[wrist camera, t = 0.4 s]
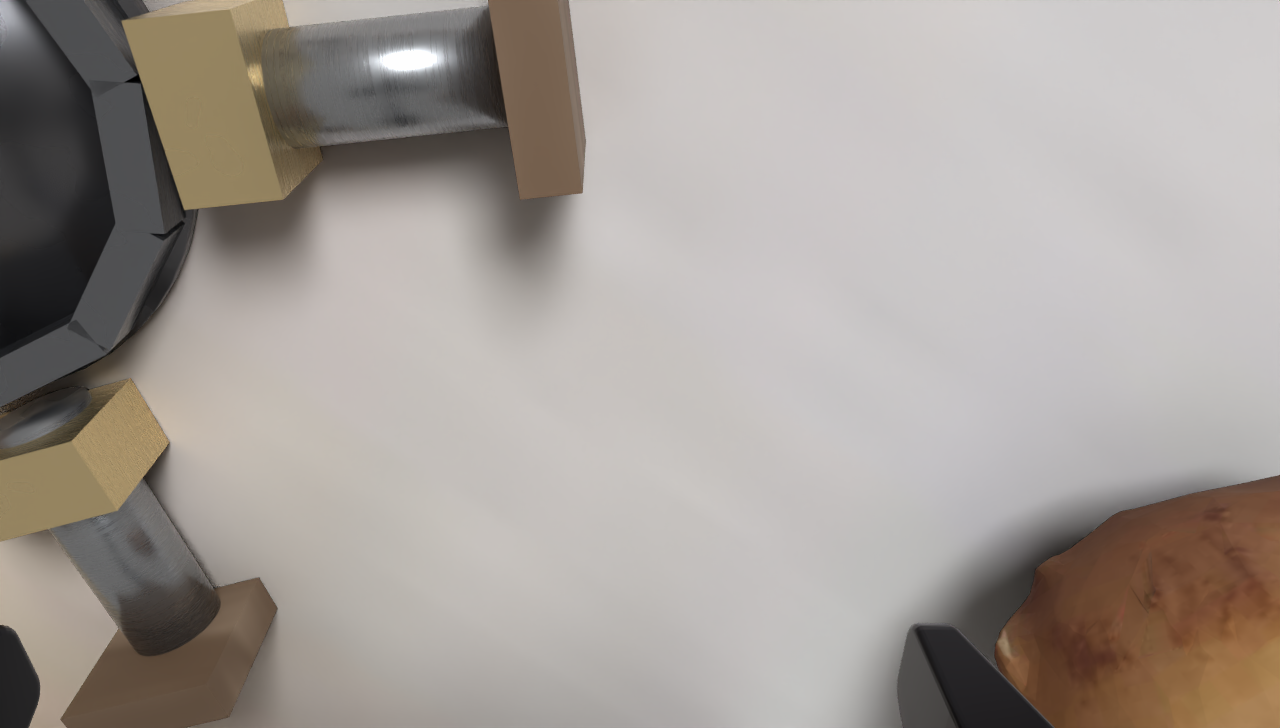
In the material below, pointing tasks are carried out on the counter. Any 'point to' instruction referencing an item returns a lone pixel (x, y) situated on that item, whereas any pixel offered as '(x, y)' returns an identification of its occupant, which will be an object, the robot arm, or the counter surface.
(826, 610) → the counter surface
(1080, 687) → the butternut squash
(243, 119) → the shaft
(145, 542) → the shaft
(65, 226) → the dark grey shallow bowl
